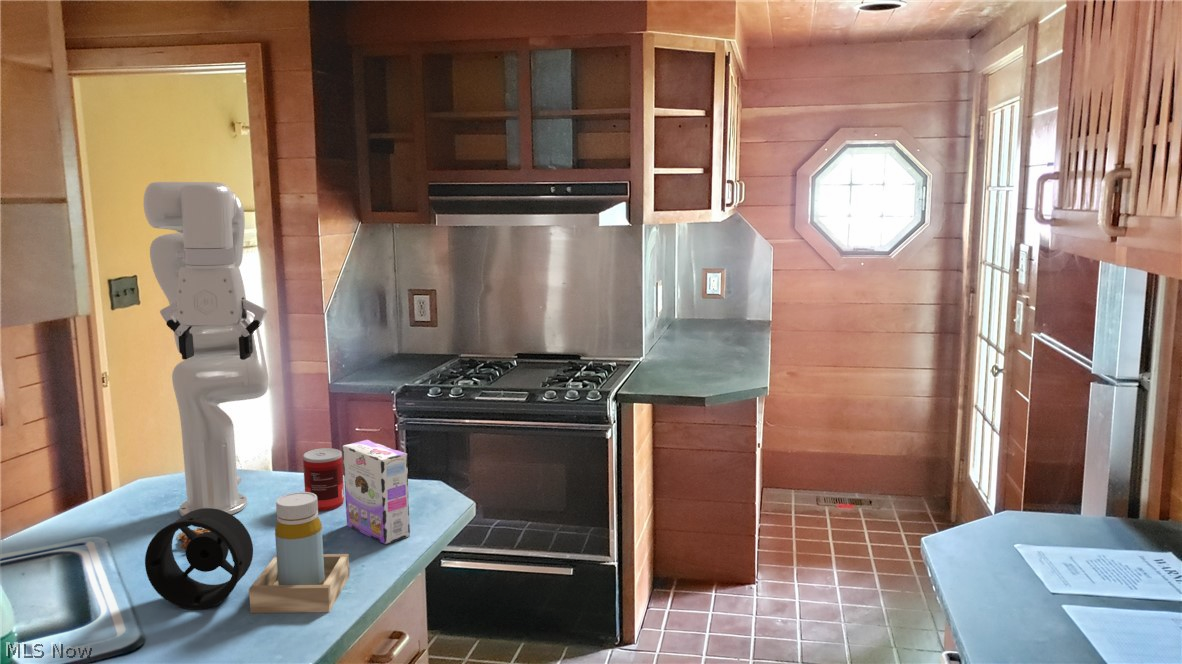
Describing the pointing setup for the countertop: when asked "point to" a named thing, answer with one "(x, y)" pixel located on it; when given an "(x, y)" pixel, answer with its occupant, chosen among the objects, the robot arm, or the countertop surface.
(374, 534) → the candy box
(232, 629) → the countertop surface
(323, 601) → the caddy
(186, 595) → the black ducted fan housing
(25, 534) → the countertop surface
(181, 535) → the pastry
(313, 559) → the bottle
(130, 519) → the countertop surface
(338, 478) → the canned food
